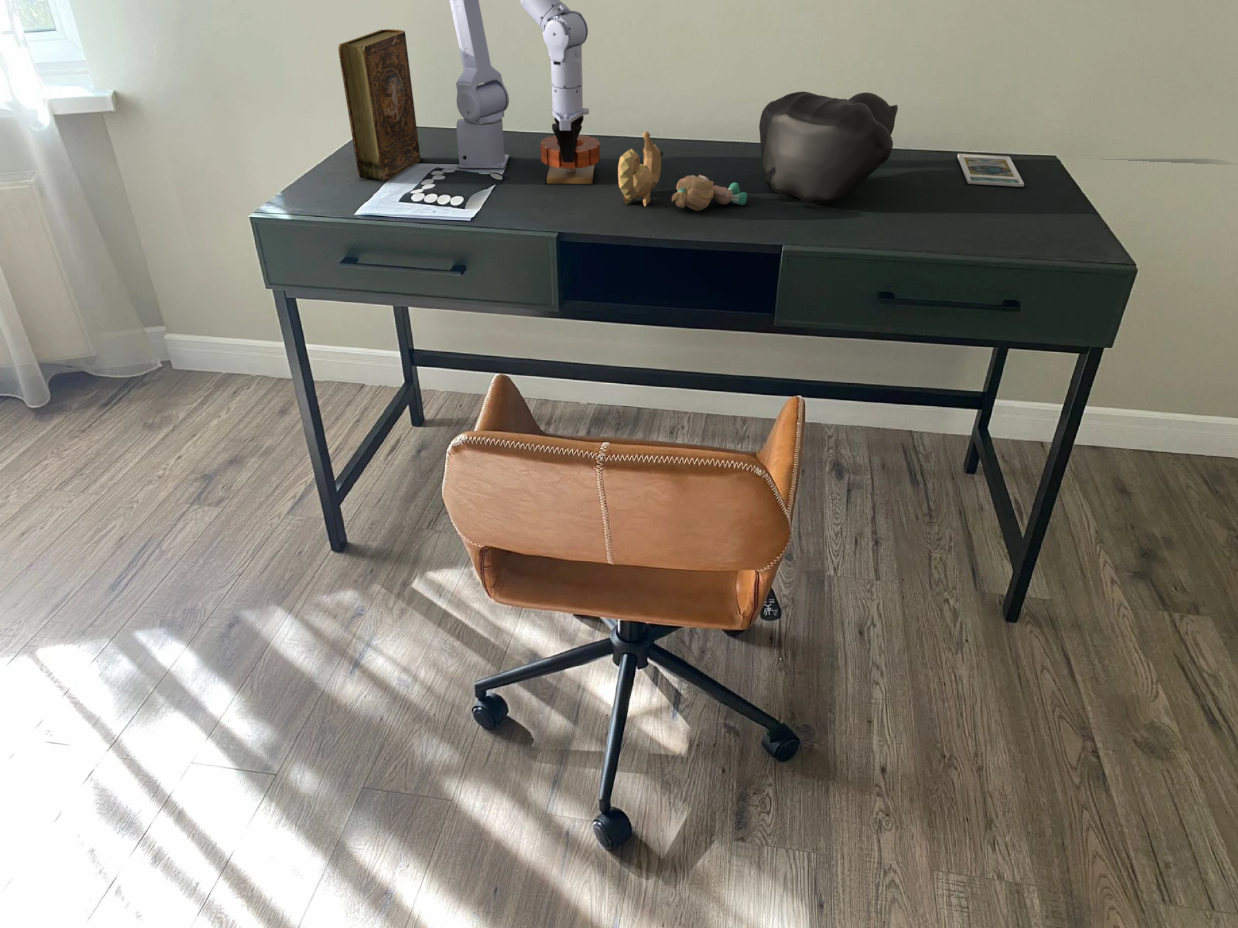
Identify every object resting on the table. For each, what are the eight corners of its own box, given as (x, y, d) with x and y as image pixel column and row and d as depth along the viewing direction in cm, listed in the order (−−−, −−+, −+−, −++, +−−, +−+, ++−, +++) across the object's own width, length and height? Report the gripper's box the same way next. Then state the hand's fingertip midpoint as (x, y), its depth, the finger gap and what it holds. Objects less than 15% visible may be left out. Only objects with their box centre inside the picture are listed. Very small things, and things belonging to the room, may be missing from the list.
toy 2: (756, 182, 167) (686, 163, 160) (749, 220, 168) (679, 204, 161) (732, 185, 174) (664, 167, 167) (726, 222, 175) (658, 206, 168)
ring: (538, 168, 176) (538, 151, 174) (544, 149, 186) (543, 133, 184) (598, 169, 176) (598, 152, 174) (600, 150, 185) (600, 134, 184)
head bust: (729, 109, 167) (820, 47, 181) (735, 206, 182) (819, 142, 195) (860, 139, 152) (950, 69, 166) (856, 243, 166) (938, 171, 180)
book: (400, 156, 193) (383, 29, 178) (423, 159, 192) (408, 30, 177) (359, 180, 180) (337, 45, 166) (383, 183, 179) (363, 47, 164)
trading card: (1009, 156, 193) (1024, 184, 178) (1008, 159, 193) (1023, 187, 179) (957, 153, 194) (968, 180, 180) (957, 156, 195) (967, 183, 180)
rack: (546, 183, 179) (545, 154, 176) (550, 169, 187) (549, 141, 183) (592, 184, 179) (591, 155, 176) (594, 169, 187) (593, 141, 183)
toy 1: (608, 151, 158) (644, 120, 173) (608, 218, 165) (643, 182, 180) (637, 154, 156) (671, 122, 171) (636, 222, 163) (668, 186, 178)
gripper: (586, 95, 163) (587, 170, 171) (590, 76, 175) (591, 147, 183) (547, 94, 163) (550, 170, 171) (553, 75, 175) (556, 147, 183)
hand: (568, 158), depth 177 cm, fingers closed on ring, 4 cm apart
